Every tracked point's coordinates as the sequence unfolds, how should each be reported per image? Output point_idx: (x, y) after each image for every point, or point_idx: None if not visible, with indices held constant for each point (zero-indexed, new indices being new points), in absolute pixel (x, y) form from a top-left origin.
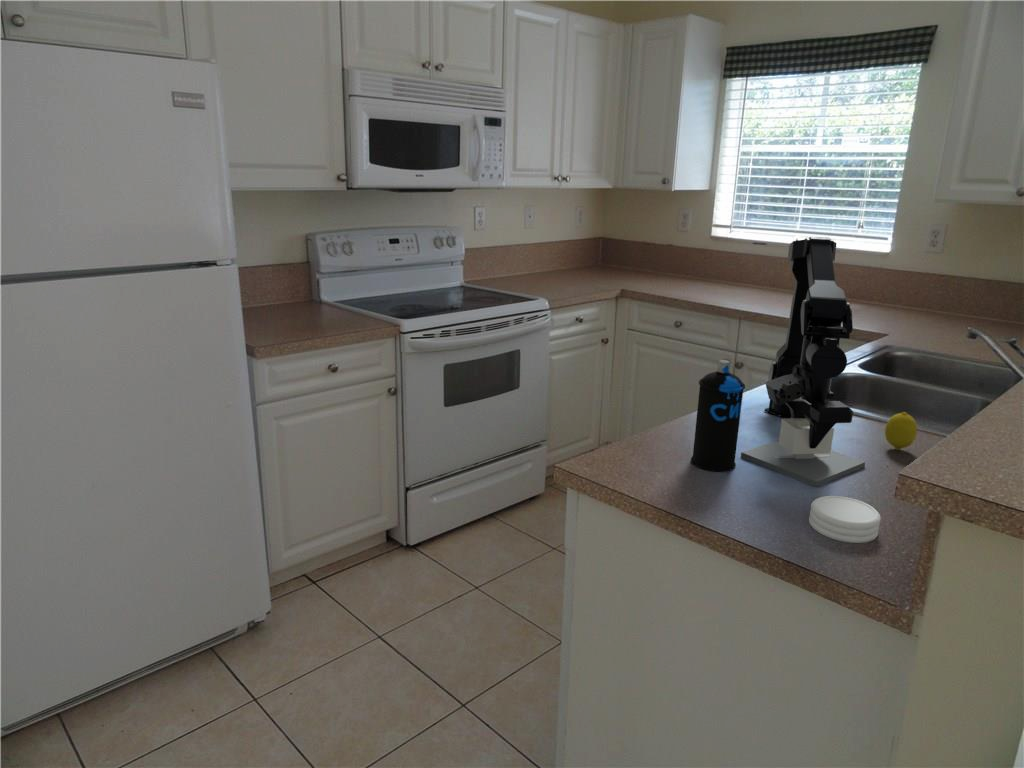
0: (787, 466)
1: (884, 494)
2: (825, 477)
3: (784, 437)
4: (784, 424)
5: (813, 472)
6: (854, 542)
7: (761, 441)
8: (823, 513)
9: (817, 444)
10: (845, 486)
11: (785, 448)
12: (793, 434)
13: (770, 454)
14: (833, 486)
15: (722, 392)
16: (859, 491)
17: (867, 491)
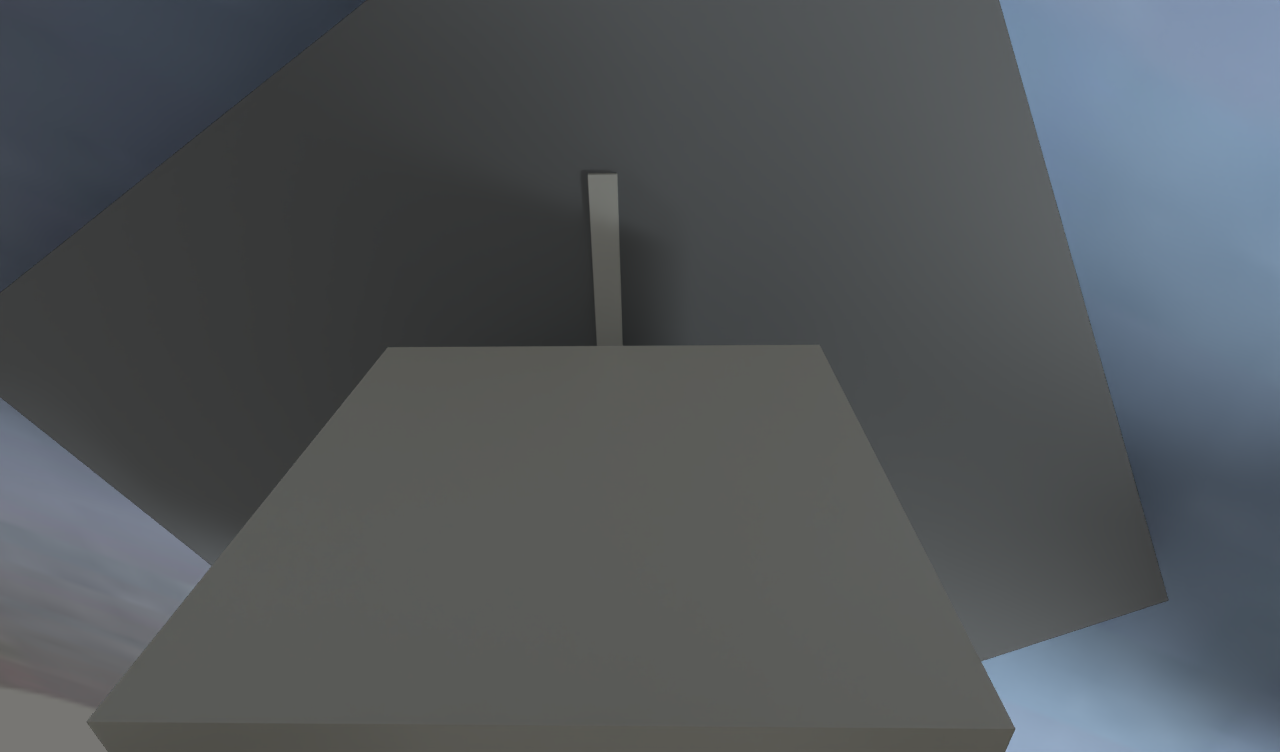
0: (308, 207)
1: (69, 697)
2: (102, 469)
3: (674, 430)
4: (780, 625)
5: (203, 418)
6: None
7: (1257, 288)
8: None
9: None
10: (120, 549)
11: (591, 347)
12: (278, 565)
13: (714, 155)
14: (81, 470)
15: None
16: (55, 594)
17: (79, 636)
